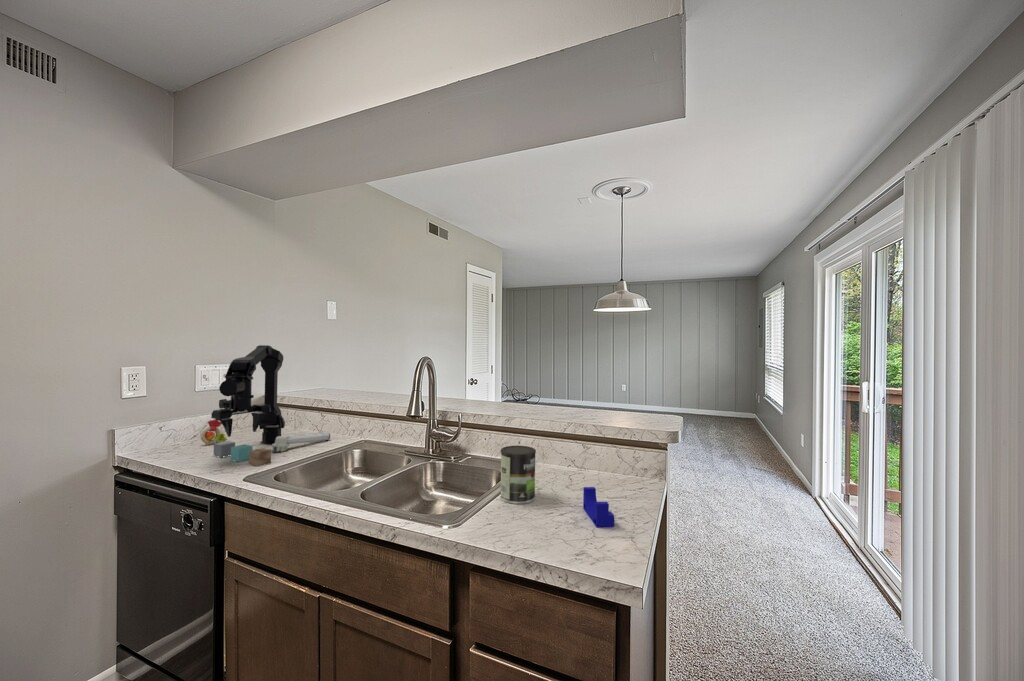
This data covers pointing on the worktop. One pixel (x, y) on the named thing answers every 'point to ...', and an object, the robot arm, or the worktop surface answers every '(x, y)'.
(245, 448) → the teal block
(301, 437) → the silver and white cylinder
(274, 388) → the robot arm
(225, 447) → the charcoal block
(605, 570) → the worktop surface
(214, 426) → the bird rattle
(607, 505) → the blue stepped block
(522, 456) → the coffee can
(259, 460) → the walnut block
